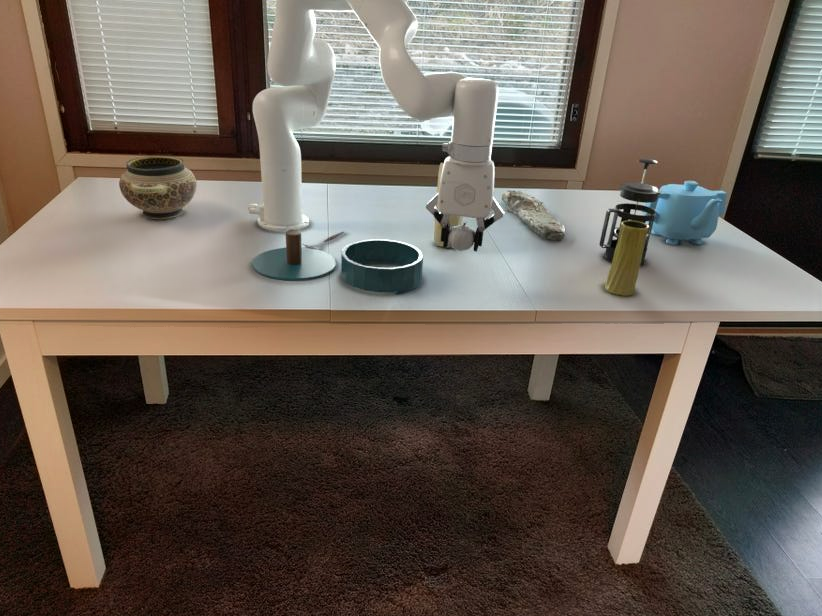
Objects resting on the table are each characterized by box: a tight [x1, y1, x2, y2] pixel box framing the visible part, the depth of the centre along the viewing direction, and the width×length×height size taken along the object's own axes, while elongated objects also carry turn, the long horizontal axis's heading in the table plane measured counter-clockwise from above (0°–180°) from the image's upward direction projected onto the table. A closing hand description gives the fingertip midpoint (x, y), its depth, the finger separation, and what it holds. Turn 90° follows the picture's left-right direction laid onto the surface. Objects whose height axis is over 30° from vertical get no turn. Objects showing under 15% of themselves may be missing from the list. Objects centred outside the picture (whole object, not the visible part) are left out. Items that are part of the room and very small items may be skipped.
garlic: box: [448, 220, 476, 251], centre depth 126 cm, size 6×5×5 cm
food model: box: [433, 162, 464, 249], centre depth 150 cm, size 10×7×20 cm
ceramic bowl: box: [118, 155, 198, 220], centre depth 160 cm, size 24×18×15 cm
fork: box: [302, 231, 345, 250], centre depth 151 cm, size 3×16×2 cm, turn 152°
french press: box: [598, 158, 662, 267], centre depth 146 cm, size 12×9×23 cm
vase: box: [604, 220, 649, 297], centre depth 132 cm, size 6×6×14 cm
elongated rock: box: [501, 189, 566, 241], centre depth 174 cm, size 35×5×10 cm
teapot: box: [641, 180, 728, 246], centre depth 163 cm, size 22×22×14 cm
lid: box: [251, 229, 337, 282], centre depth 136 cm, size 18×18×8 cm
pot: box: [340, 238, 424, 295], centre depth 134 cm, size 17×17×6 cm
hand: (460, 246), depth 127 cm, fingers closed on garlic, 5 cm apart
